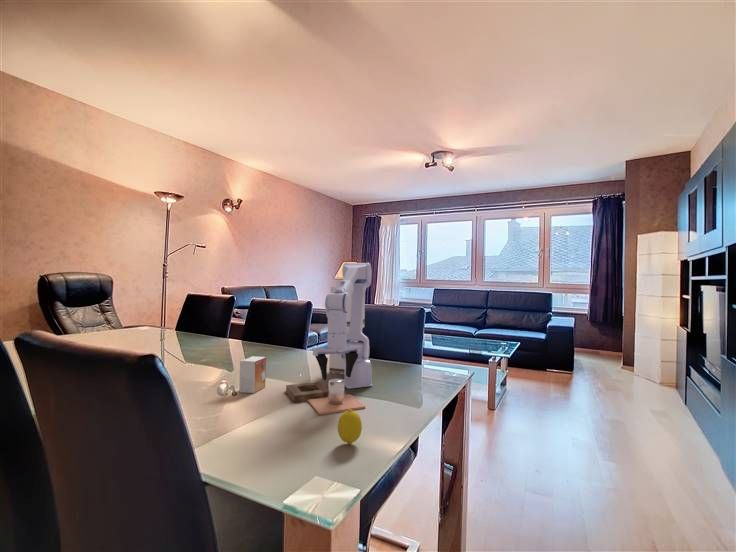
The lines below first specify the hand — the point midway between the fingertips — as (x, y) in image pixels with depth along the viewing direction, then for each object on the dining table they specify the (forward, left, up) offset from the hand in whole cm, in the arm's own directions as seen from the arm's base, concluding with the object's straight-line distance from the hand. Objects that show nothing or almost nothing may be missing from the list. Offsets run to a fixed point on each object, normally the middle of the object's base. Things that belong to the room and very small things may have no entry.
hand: (336, 377), depth 110 cm
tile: (0, 0, -8) cm, 8 cm away
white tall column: (-18, -37, -8) cm, 42 cm away
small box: (+21, -25, -8) cm, 34 cm away
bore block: (+5, -13, -8) cm, 16 cm away
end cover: (0, 0, -8) cm, 8 cm away
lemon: (+6, +26, -8) cm, 28 cm away
